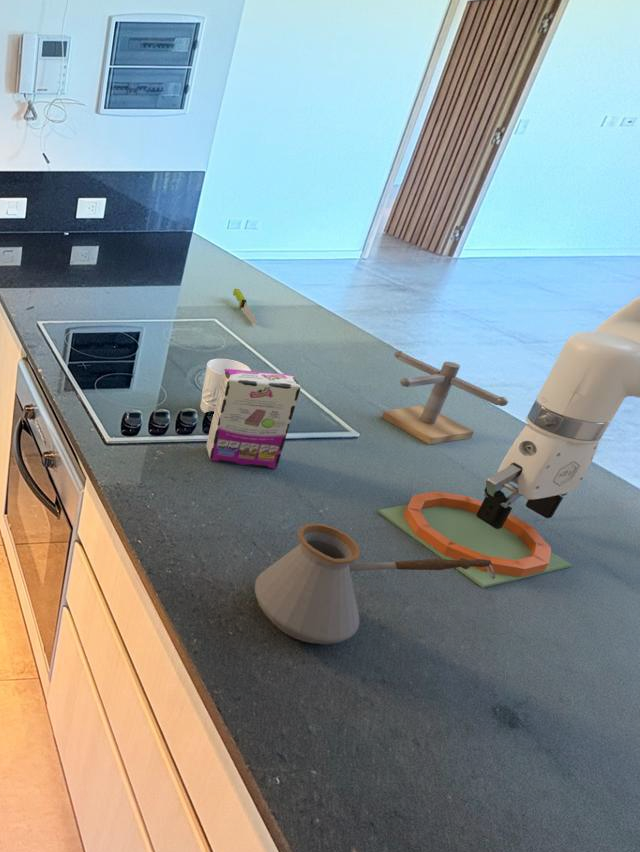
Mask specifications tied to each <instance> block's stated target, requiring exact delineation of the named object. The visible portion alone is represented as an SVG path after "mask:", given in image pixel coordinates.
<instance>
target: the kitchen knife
mask: <svg viewBox="0 0 640 852" xmlns="http://www.w3.org/2000/svg"><path fill="white" fill-rule="evenodd" d="M232 291H233V292H232V295H233V296H235V299H236V301H237V302H238V309H241V310H242V312H243V313H244V314H245V315H246V317H247V319H248V320H249V321H250V322H251V323H252V324H254V325H257V324H258V323H259V322H258V319H256V317H255V315H254V314H253V312H252V311H251V308H250V307H249V306H248V304H247V299H246V297H245V296H244V295H243V294H244V293H242V290H240V288H234V289H233V290H232Z"/></svg>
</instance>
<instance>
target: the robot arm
mask: <svg viewBox="0 0 640 852" xmlns="http://www.w3.org/2000/svg"><path fill="white" fill-rule="evenodd" d="M628 397H635V398H639V399H640V295H639V296H637V297H636V298H634V299H632V300H631V301H630V302H628V303H627V304H626V305H624V306H622V308H621V307H620V309H619V310H617V311H616V312H614V313H613V314H612V315H610V316H609V317H608V318H607V319H605V320H604V321H603V322H602V323H600V324H599V325H598V326H597V327H596V328H595V329H594V330H593V331H579V332H576V333H574V334H572V335H571V336H568V338H567V339H566V341H565V342H564V344H563V345H562V348H561V350H560V352H559V353H558V356H557V357H556V359H555V362H554V363H553V365H552V366H551V369H550V371H549V373H548V375H547V376H546V379H545V381H544V382H543V384H542V387H541V388H540V390H539V392H538V394H537V396H536V398H535V401H534V402H533V404H532V406H531V408H530V409H529V412H528V414H527V416H526V418H525V422H526V423H527V424H526V425H525V426H524V427H523V428H522V430H521V431H520V433H519V434H518V436H517V437H516V439H515V440H514V441H513V442H512V444H511V446H510V448H509V449H508V450H507V452H506V455H505V456H504V457H503V460H502V462H501V463H500V465H499V467H498V469H497V471H496V473H495V474H493V475H491V476H490V477H488V478H487V479H486V480H485V487H484V488H485V489H484V495H483V496H484V499H483V500H482V502H483V503H482V505H481V507H480V509H479V510H478V512H477V517H478V518H479V519H481V520H483V521H484V522H486V523H487V524H489V525H491V526H492V527H494V528H495V529H501V528H502V526H503V525H504V523H505V521H506V519H507V517H508V515H509V514H511V512H512V510H513V507H512V506H511V505H513V503H515V502H516V501H517V500H518V499H519V498H520V497H523V498H525V499H527V501H526V503H525V507H527V508H528V509H529V510H532V512H534V513H536V514H538V515H540V516H542V517H544V518H545V519H551V518H553V516H554V514H555V513H556V511H557V509H558V507H560V504H561V503H562V501H563V499H564V497H565V496H566V495H568V494H569V493H572V492H574V491H576V490H577V489H578V488H579V486H580V484H581V482H582V481H583V479H584V477H585V475H586V473H587V471H588V470H589V468H590V465H591V463H592V461H593V459H594V458H595V455H596V452H597V450H598V447H599V444H600V441H601V440H602V437H603V436H604V435H605V432H606V431H607V429H608V427H609V426H610V424H611V422H612V420H613V419H614V417H615V415H616V414H617V412H618V410H619V409H620V407H621V405H622V404H623V402H624V400H625V398H628ZM511 483H514V484H516V485H517V486H515V485H513V484H511ZM504 488H505V489H506V490H508V491H510V492H511V493H510V494H508V495H507V496H506V495H505V493H504V492H503V491H502V490H503V489H504Z"/></svg>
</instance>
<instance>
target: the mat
mask: <svg viewBox="0 0 640 852" xmlns="http://www.w3.org/2000/svg"><path fill="white" fill-rule="evenodd" d="M408 505H409V503H407V504H403V505H398V506H392V507H388V508H382V509H378V511H377V512H378V514H380V515H381V516H382V517H384V518H385V519H387V521H390V523H392V524H393V525H395V526H396V527H398V528H399V529H401V530H402V531H403V532H405V533H406V534H408V535H409V536H410V537H411V538H413V539H414V540H415V541H417V542H418V543H420V544H421V545H423V546H424V547H425V548H427V549H428V550H430V551H431V552H432V553H434V554H435V555H437V557H439V558H440V559H449V560H455V559H453V558H451V557H448V556H446V555H444V554H442V553H441V552H439V551H438V550H437V549H435V548H434V547H432V546H431V545H430V544H428V543H427V542H426V541H424V540H423V539H421V538H420V537H419V536H417V535H416V534H415V533H414V531H413V530H412V528H411V527H410V525H409V523H408V522H407V520H406V519H405V517H404V513H405V511H406V509H407V507H408ZM420 512H421V514H422V515H423V517H424V518H425V520H426V521H427V523H428V524H429V526H430V527H432V528H433V529H435V530H436V531H438V532H439V533H440V534H442V535H443V536H445V537H446V538H448V539H449V540H451V541H452V542H454V543H456V544H459V545H461V546H464V547H466V548H469V549H471V550H473V551H476V552H478V553H481V554H483V555H487V556H493V557H499V558H505V559H511V560H518V559H522V558H527V557H530V556H531V551H530V549H529V548H528V547H527V546H526V545H525V543H524V542H523V541H522V540H521V539H520V537H519V536H518V535H516V534H515V533H513V532H511V531H510V530H508V529H507V528H505V527H503V526H502V528H501V529H495V528H494V527H492V526H491V525H489V524H487V523H486V522H484V521H483V520H481V519H479V518H478V517H477V514H475V513H473V512H470V511H467V510H465V509H459V508H452V507H446V506H433V507H428V508H423V509H421V511H420ZM572 566H573V564H572V563H570V562H569V561H568V560H566V559H564V558H562V557H560V556H559V555H558V554H555V553H554V552H552V551H551V553H550V559H549V564H548V566H547V567H546V569H545V570H544V572H540V573H536V574H531V575H527V576H523V577H515V576H510V575H504V574H498V573H495V579H492V578H491V577H490V575H489V573H488V572H487V571H482V570H479V569H477V568H475V567H469V568H468V569H463V568H462V567H458V568H455V570H457V571H458V572H460V573H461V574H463V575H464V576H466V577H467V578H468V579H470V580H471V581H472V582H474V583H475V584H477V585H478V586H479V587H481V588H482V589H484V588H489V587H494V586H496V585H502V584H505V583H510V582H514V581H518V580H522V579H526V578H530V577H535V576H539V575H543V574H546V573H552V572H555V571H556V572H557V571H560V570H564V569H569V568H571V567H572ZM490 573H491V575H492V576H493V574H492V572H490Z"/></svg>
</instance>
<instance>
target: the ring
mask: <svg viewBox="0 0 640 852" xmlns="http://www.w3.org/2000/svg"><path fill="white" fill-rule="evenodd" d="M482 503H483V500H479V499H476V498H474V497H471V496H468V495H462V494H456V493H449V492H443V491H435V490H433V491H429V492H423V493H418V494H413V495H412V497H411V499H410V501H409V503H408V504H409V505H408V507H407V509H406V511H405V513H404V517H405V519H406V520H407V522H408V523H409V525H410V527H411V528H412V530H413V531H414V533H415V534H416V535H417V536H419V537H420V538H421V539H423V540H424V541H426V542H427V543H428V544H430V545H431V546H432V547H434V548H435V549H437V550H438V551H439V552H441V553H442V554H444V555H446V556H448V557H451V558H453V559H455V560H459V559H460V558H465V559H467V560H475V559H485V560H490V561H491V563H492V565H491V566H492V568H493V570H494V573H498V574H504V575H510V576H515V577H523V576H527V575H531V574H536V573H540V572H544V570H545V569H546V567H547V566H548V564H549V559H550V553H551V552H552V547H551V545H550V544H549V543H548V542H547V541H546V540H545V539H544V538H543V536H541V534H540V533H539V532H538V531H537V529H535V528H534V527H533V526H531V525H530V524H528V523H527V522H525V521H523V520H522V519H520V518H519V517H517V516H515V515H513V514H512V513H510V514H509V515H508V517H507V519H506V521H505V523H504V525H503V527H505V528H507V529H508V530H510V531H511V532H513V533H515V534H516V535H518V536H519V537H520V539H521V540H522V541H523V542H524V543H525V545H526V546H527V547H528V548H529V549H530V551H531V556H530V557H527V558H522V559H518V560H511V559H505V558H499V557H493V556H487V555H483V554H481V553H478V552H476V551H473V550H471V549H469V548H466V547H464V546H461V545H459V544H456V543H454V542H452V541H451V540H449V539H448V538H446V537H445V536H443V535H442V534H440V533H439V532H438V531H436V530H435V529H433V528H432V527H430V526H429V524H428V523H427V521H426V520H425V518H424V517H423V515H422V514H421V512H420V511H421V509H423V508H428V507H433V506H446V507H452V508H459V509H465V510H467V511H470V512H473V513H475V514H477V512H478V510H479V509H480V507H481V505H482ZM473 567H475V568H477V569H479V570H482V571H487V569H486V567H477V566H473ZM488 568H489V571H490V572H492V571H491V568H490V566H488ZM487 572H488V571H487Z"/></svg>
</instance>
